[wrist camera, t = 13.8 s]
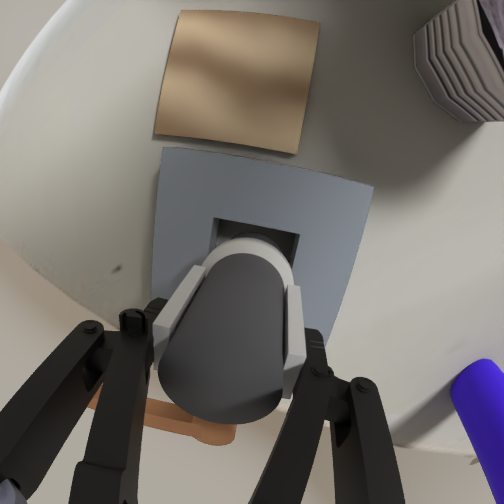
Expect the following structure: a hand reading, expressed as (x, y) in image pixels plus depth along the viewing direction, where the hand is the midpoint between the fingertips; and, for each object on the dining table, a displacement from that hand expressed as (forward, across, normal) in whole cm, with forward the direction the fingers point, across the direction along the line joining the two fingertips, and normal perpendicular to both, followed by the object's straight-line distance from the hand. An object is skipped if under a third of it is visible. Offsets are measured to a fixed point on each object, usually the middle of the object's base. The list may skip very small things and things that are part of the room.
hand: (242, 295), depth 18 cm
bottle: (+9, +33, -12) cm, 36 cm away
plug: (+5, 0, 0) cm, 5 cm away
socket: (+8, 0, 0) cm, 8 cm away
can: (+9, +16, +22) cm, 28 cm away
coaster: (+9, -4, +15) cm, 17 cm away
